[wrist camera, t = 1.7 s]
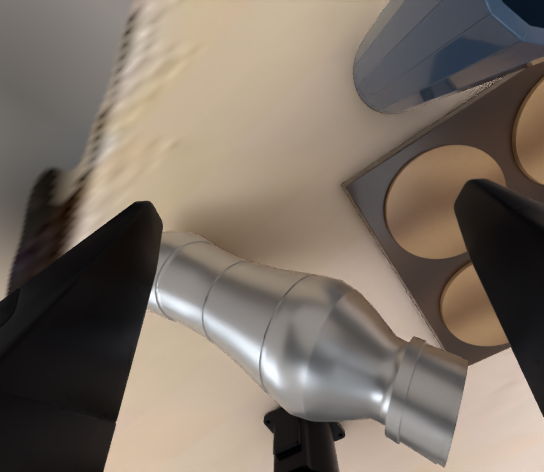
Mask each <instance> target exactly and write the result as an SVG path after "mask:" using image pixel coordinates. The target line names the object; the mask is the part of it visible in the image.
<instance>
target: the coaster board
mask: <svg viewBox="0 0 544 472" xmlns="http://www.w3.org/2000/svg"><path fill="white" fill-rule="evenodd" d="M481 178H485V179H489V180H491V181H493V182H496V183H498V184H500V185H502V186H505V187H507V188H509V189H511V190H514V191H516V192H518V193H520V194H522V195H525V196H527V197H529V198H531V199H534V200H536V201H538V202H540V203H543V204H544V61H543V62H541V63H538V64H535V65H533V66H530V67H527V68H524V69H522V70H519V71H516V72H513V73H511V74H508V75H507V76H505V77H504V78H502V79H501V80H499V81H498V82H496V83H495V84H493V85H492V86H490V87H488V88H487V89H485V90H484V91H482V92H481V93H479V94H478V95H476V96H475V97H473V98H472V99H470V100H469V101H467V102H466V103H464V104H463V105H461V106H460V107H458V108H457V109H455V110H454V111H452V112H451V113H449V114H448V115H446V116H444V117H443V118H441V119H440V120H438V121H437V122H435V123H434V124H432V125H431V126H429V127H428V128H426V129H425V130H423V131H422V132H420V133H419V134H417V135H416V136H414V137H413V138H411V139H410V140H408V141H407V142H405V143H404V144H402V145H401V146H399V147H397V148H396V149H394V150H393V151H391V152H390V153H388V154H387V155H385V156H384V157H382V158H381V159H379V160H378V161H376V162H375V163H373V164H372V165H370V166H369V167H367V168H366V169H364V170H363V171H361V172H360V173H358V174H357V175H355V176H353V177H352V178H350V179H349V180H347V181H346V182H344V183H343V184H342V187H343V188H344V190H345V192H346V193H347V195H348V196H349V198H350V200H351V201H352V203H353V204H354V206H355V208H356V209H357V211H358V213H359V214H360V216H361V217H362V219H363V221H364V222H365V224H366V226H367V227H368V229H369V230H370V232H371V234H372V235H373V237H374V238H375V240H376V242H377V243H378V245H379V247H380V248H381V250H382V251H383V253H384V255H385V256H386V258H387V260H388V261H389V263H390V264H391V266H392V268H393V269H394V271H395V272H396V274H397V276H398V277H399V279H400V281H401V282H402V284H403V285H404V287H405V289H406V290H407V292H408V294H409V295H410V297H411V298H412V300H413V302H414V303H415V305H416V306H417V308H418V310H419V311H420V313H421V315H422V316H423V318H424V319H425V321H426V323H427V324H428V326H429V328H430V329H431V331H432V332H433V334H434V336H435V337H436V339H437V340H438V342H439V344H440V345H441V347H442V349H443V350H444V351H447V352H449V353H452V354H455V355H457V356H460V357H462V359H465V360H468V366H470V365H472V364H474V363H476V362H478V361H481V360H483V359H485V358H487V357H490V356H492V355H494V354H496V353H499V352H501V351H503V350H505V349H507V348H510V347H511V346H510V344H509V342H508V340H507V338H506V335H505V333H504V331H503V329H502V327H501V325H500V322H499V320H498V318H497V316H496V314H495V312H494V310H493V307H492V305H491V303H490V301H489V299H488V297H487V295H486V292H485V290H484V288H483V286H482V284H481V282H480V280H479V277H478V275H477V273H476V271H475V269H474V267H473V264H472V262H471V260H470V258H469V255H468V252H467V250H466V247H465V244H464V241H463V238H462V234H461V231H460V228H459V225H458V222H457V219H456V216H455V213H454V202H455V200H456V198H457V196H458V195H459V193H460V191H461V189H462V188H463V186H464V184H465V183H466V182H467V181H468V180H470V179H481Z"/></svg>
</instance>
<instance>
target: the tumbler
mask: <svg viewBox="0 0 544 472" xmlns="http://www.w3.org/2000/svg"><path fill="white" fill-rule="evenodd" d="M543 61H544V0H389V1H388V3H387V4H386V6H385V7H384V9H383V10H382V12H381V13H380V15H379V16H378V18H377V19H376V21H375V22H374V24H373V25H372V27H371V28H370V30H369V32H368V33H367V35H366V36H365V38H364V39H363V41H362V43H361V44H360V46H359V48H358V51H357V53H356V57H355V61H354V69H353V75H354V83H355V86H356V90H357V92H358V94H359V96H360V97H361V99H362V100H363V101H364V102H365V104H367V105H368V106H369V107H370V108H372V109H374V110H376V111H378V112H381V113H386V114H396V113H402V112H405V111H408V110H412V109H415V108H418V107H421V106H423V105H426V104H429V103H431V102H434V101H437V100H440V99H442V98H445V97H448V96H451V95H453V94H456V93H459V92H462V91H464V90H467V89H470V88H472V87H475V86H478V85H481V84H483V83H486V82H489V81H492V80H494V79H497V78H500V77H502V76H505V75H508V74H511V73H513V72H516V71H519V70H522V69H524V68H527V67H530V66H533V65H535V64H538V63H541V62H543Z"/></svg>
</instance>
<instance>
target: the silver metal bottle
mask: <svg viewBox="0 0 544 472" xmlns="http://www.w3.org/2000/svg"><path fill="white" fill-rule="evenodd" d="M147 309H148V310H149V311H150V312H152V313H155V314H157V315H159V316H161V317H164V318H166V319H168V320H172V321H175V322H178V323H180V324H182V325H184V326H186V327H188V328H190V329H192V330H193V331H195V332H197V333H199V334H201V335H203V336H204V337H206V338H207V339H208V340H209V341H211V342H212V343H213V344H215V345H216V346H217V347H218V348H219V349H221V350H222V351H223V352H224V353H226V354H227V355H228V356H229V357H231V358H232V359H233V360H234V361H235V362H236V363H237V364H238V365H239V366H240V367H241V368H242V369H243V370H244V371H245V372H246V373H247V374H248V375H249V376H250V377H251V378H252V379H253V380H254V381H255V382H256V383H257V384H258V385H259V386H260V387H261V388H262V389H263V390H264V391H265V392H266V393H267V394H269V396H270V397H271V398H272V399H273V400H274V401H276V402H277V403H278V404H279V405H280V406H281V407H283V408H284V409H285V410H286V411H287V412H288V413H290V414H291V415H294V416H297V417H300V418H303V419H306V420H309V421H314V422H343V421H352V420H361V419H369V418H371V419H373V420H376V421H378V422H380V423H382V424H384V425H385V435H386V437H388V438H390V439H391V440H393V441H394V442H396V443H397V444H399V443H400V442H402V443H403V444H405V445H406V446H408V447H410V448H411V449H413V450H414V451H416V452H418V453H419V454H421V455H422V456H424V457H426V458H427V459H429V460H430V461H432V462H433V463H435V464H437V463H438V464H439V465H441V466H442V467H445V465H446V461H447V458H448V454H449V450H450V447H451V443H452V439H453V434H454V430H455V426H456V422H457V417H458V413H459V408H460V404H461V399H462V395H463V390H464V385H465V380H466V375H467V369H468V360H465V359H462V357H460V356H457V355H455V354H452V353H449V352H447V351H444V350H441V349H439V348H436V347H434V346H431V345H428V344H427V341H425V340H423V339H420V338H417V337H415V336H414V337H413V338H412V339H411V341H410V342H406V341H404V340H402V339H401V338H399V337H397V336H396V335H395V334H394V333H393V331H392V330H391V329H390V327H389V326H388V325H387V324H386V322H385V321H384V320H383V318H382V317H381V316H380V314H379V313H378V312H377V310H376V309H375V308H374V307H373V306H372V305H371V304H370V303H369V302H368V301H367V300H366V299H365V297H364V296H363V295H362V294H361V293H360V292H358V291H357V290H355V289H354V288H352V287H351V286H349V285H348V284H346V283H345V282H343V281H342V280H338V279H334V278H330V277H326V276H321V275H314V274H308V273H302V272H296V271H290V270H283V269H278V268H274V267H270V266H267V265H263V264H259V263H254V262H252V261H249V260H245V259H241V258H239V257H237V256H235V255H233V254H231V253H229V252H227V251H224V250H222V249H220V248H218V247H217V246H216V245H214V244H213V243H211V242H210V241H208V240H206V239H205V238H203V237H201V236H199V235H197V234H195V233H192V232H188V231H166V232H162V238H161V245H160V252H159V259H158V265H157V271H156V275H155V279H154V283H153V287H152V290H151V294H150V298H149V302H148V305H147Z"/></svg>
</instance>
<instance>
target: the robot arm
mask: <svg viewBox="0 0 544 472" xmlns="http://www.w3.org/2000/svg"><path fill="white" fill-rule="evenodd" d="M454 213H455V216H456V219H457V222H458V225H459V228H460V231H461V234H462V238H463V241H464V244H465V247H466V250H467V252H468V255H469V258H470V260H471V262H472V264H473V267H474V269H475V271H476V273H477V275H478V277H479V280H480V282H481V284H482V286H483V288H484V290H485V292H486V295H487V297H488V299H489V301H490V303H491V305H492V307H493V310H494V312H495V314H496V316H497V318H498V320H499V322H500V325H501V327H502V329H503V331H504V333H505V335H506V338H507V340H508V342H509V344H510V346H511V348H512V350H513V353H514V355H515V357H516V359H517V361H518V363H519V365H520V368H521V370H522V372H523V374H524V376H525V378H526V380H527V383H528V385H529V387H530V389H531V391H532V393H533V395H534V398H535V400H536V402H537V404H538V406H539V408H540V411H541V413H542V415H543V417H544V204H543V203H540V202H538V201H536V200H534V199H531V198H529V197H527V196H525V195H522V194H520V193H518V192H516V191H514V190H511V189H509V188H507V187H505V186H502V185H500V184H498V183H496V182H493V181H491V180H489V179H485V178H481V179H470V180H468V181H467V182H466V183H465V184H464V186H463V188H462V189H461V191H460V193H459V195H458V196H457V198H456V200H455V202H454ZM162 230H163V223H162V220H161V218H160V216H159V214H158V213H157V211H156V209H155V207H154V205H153V204H152V203H151V202H150V201H137V202H134V203H133V204H132V205H130V206H129V207H127V208H126V209H125V210H123V211H122V212H121V213H119V214H118V215H117V216H115V217H114V218H113V219H111V220H110V221H109V222H107V223H106V224H104V225H103V226H102V227H100V228H99V229H98V230H96V231H95V232H94V233H92V234H91V235H90V236H88V237H87V238H86V239H84V240H83V241H81V242H80V243H79V244H77V245H76V246H75V247H73V248H72V249H71V250H69V251H68V252H67V253H65V254H64V255H63V256H61V257H60V258H58V259H57V260H56V261H54V262H53V263H52V264H50V265H49V266H48V267H46V268H45V269H44V270H42V271H41V272H40V273H38V274H37V275H35V276H34V277H33V278H31V279H30V280H29V281H27V282H26V283H25V284H23V285H22V286H21V288H19V289H16V290H15V291H14V292H12V293H11V294H10V295H8V296H7V297H6V298H4V299H3V300H2V301H0V472H103V471H104V467H105V463H106V460H107V456H108V452H109V448H110V445H111V441H112V437H113V434H114V430H115V426H116V423H115V422H116V421H117V418H118V414H119V410H120V406H121V403H122V399H123V395H124V391H125V388H126V384H127V380H128V376H129V373H130V369H131V365H132V361H133V358H134V354H135V350H136V347H137V343H138V339H139V335H140V332H141V328H142V324H143V320H144V317H145V313H146V309H147V305H148V302H149V298H150V294H151V290H152V287H153V283H154V279H155V275H156V271H157V265H158V259H159V252H160V245H161V238H162ZM264 424H265V425H266V426H267V427H268V428H269V429H270V431H271V432H272V433H273V434H274V441H273V454H274V472H339V467H338V461H337V455H336V450H335V444H334V442H335V441H337V440H340V439H342V438H344V437H345V431H344V429H343V428H342V427H341V425H340V424H339V423H338V422H314V421H309V420H306V419H303V418H300V417H297V416H294V415H291V414H290V413H288V412H287V411H286V410H285V409H284V408H283V407H282V408H280V409H278V410H276V411H274V412H272V413H270V414H268V415H266V416H265V417H264Z"/></svg>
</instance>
